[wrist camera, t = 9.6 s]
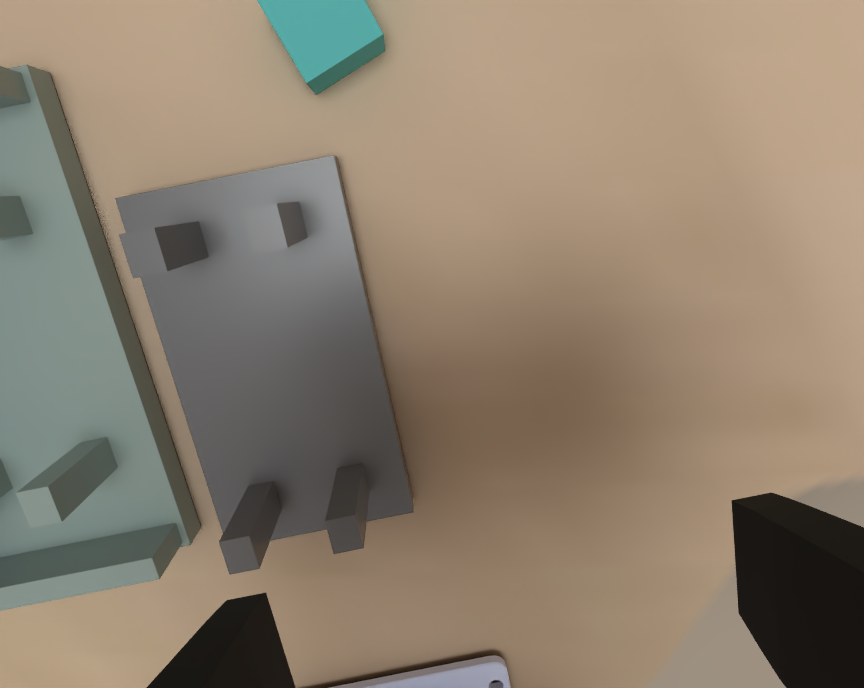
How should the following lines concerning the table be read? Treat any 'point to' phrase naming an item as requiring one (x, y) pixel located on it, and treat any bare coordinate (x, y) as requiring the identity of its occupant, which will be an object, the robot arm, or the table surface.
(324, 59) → the teal pixel shape
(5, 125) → the rack
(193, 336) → the stand
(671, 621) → the table surface
